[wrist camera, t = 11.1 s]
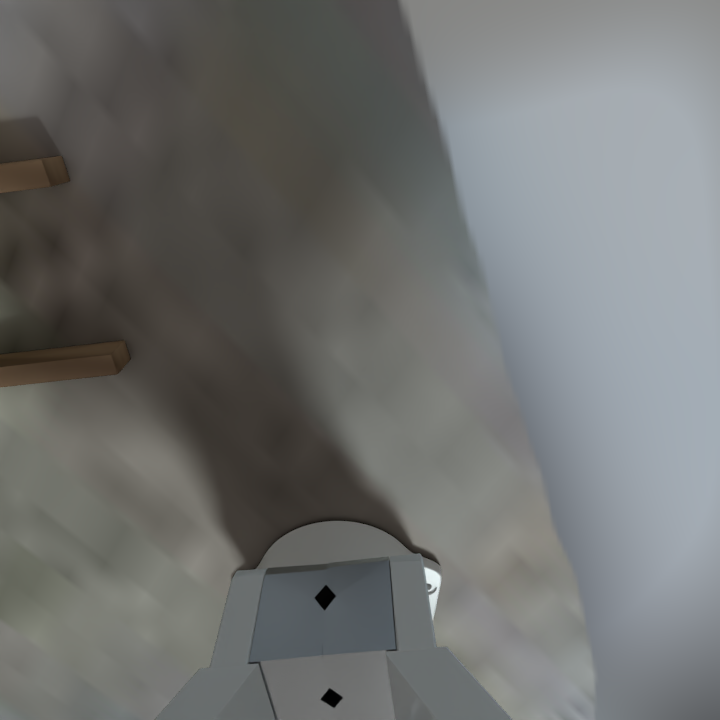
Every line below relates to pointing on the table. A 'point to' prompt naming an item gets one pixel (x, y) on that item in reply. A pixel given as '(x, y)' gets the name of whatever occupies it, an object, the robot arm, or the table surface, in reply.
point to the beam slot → (65, 359)
